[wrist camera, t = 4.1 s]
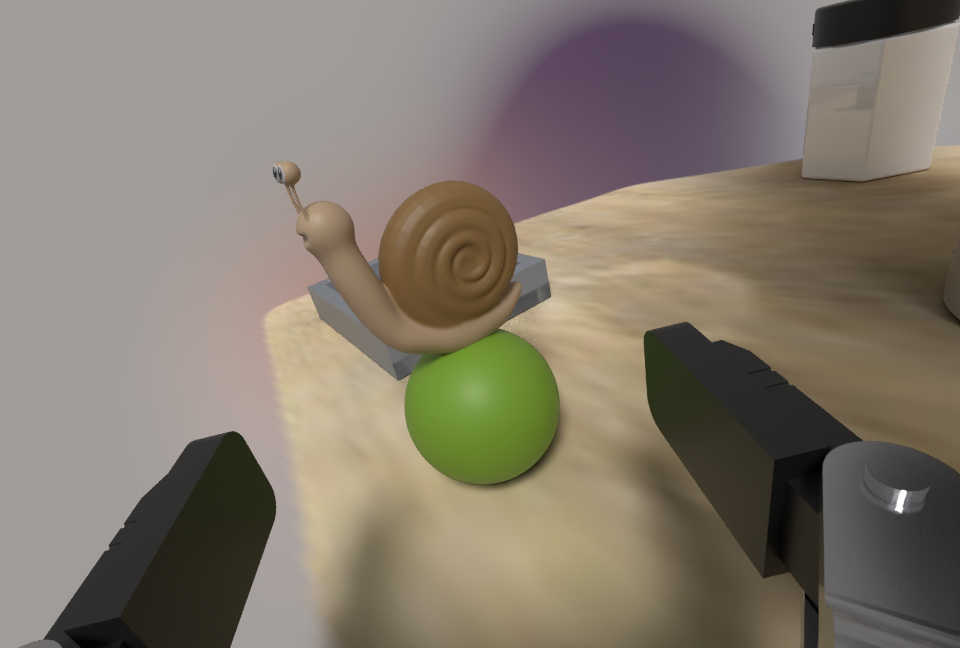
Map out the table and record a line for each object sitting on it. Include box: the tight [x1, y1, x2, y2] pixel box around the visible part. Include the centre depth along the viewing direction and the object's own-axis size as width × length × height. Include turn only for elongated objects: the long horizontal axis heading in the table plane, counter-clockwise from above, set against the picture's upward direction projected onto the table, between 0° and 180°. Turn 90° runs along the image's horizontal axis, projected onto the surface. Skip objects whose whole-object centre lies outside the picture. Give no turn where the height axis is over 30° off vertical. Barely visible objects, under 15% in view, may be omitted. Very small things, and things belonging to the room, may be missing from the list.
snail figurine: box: [273, 161, 560, 484], centre depth 15 cm, size 5×6×12 cm
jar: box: [801, 0, 960, 182], centre depth 36 cm, size 9×8×12 cm
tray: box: [307, 253, 551, 380], centre depth 31 cm, size 11×13×2 cm
